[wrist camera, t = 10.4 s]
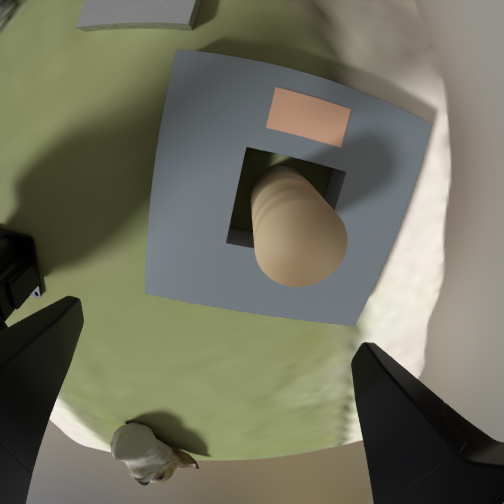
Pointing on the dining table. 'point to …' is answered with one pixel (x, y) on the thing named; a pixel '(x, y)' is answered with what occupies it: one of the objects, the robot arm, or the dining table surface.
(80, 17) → the plate
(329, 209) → the peg
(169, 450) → the ceramic sculpture
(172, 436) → the dining table surface
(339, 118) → the hole plate
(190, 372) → the dining table surface
